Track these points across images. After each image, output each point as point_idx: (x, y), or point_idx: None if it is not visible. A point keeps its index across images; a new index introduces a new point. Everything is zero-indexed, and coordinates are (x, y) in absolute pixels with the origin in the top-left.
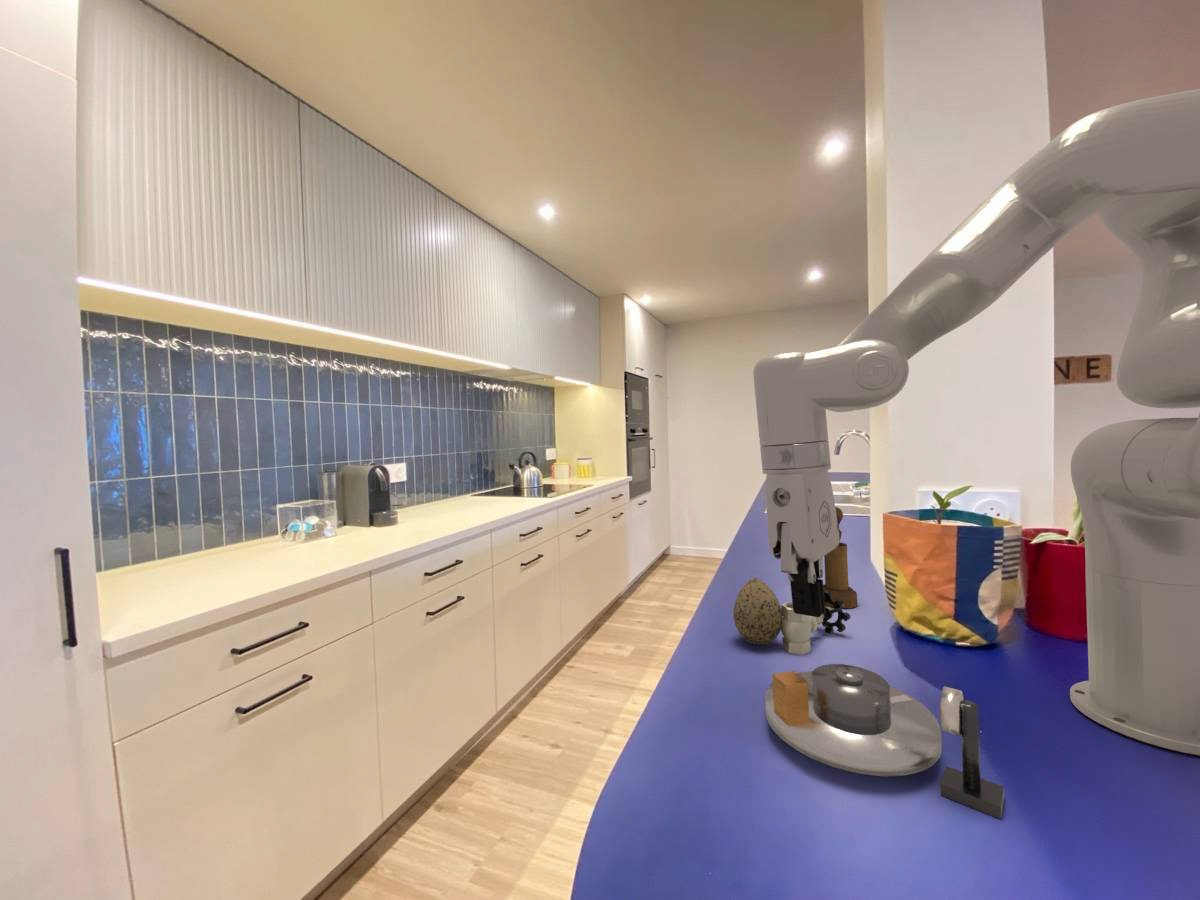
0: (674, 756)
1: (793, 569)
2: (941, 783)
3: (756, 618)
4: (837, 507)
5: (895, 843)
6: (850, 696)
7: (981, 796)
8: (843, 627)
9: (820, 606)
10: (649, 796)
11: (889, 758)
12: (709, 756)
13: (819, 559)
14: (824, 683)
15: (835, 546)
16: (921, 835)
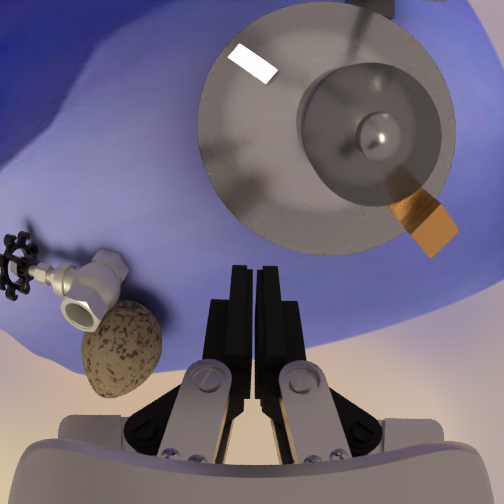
0: (446, 278)
1: (428, 432)
2: (391, 16)
3: (149, 344)
4: None
5: (475, 74)
6: (439, 129)
7: None
8: (22, 234)
9: (276, 285)
10: (489, 267)
11: (438, 71)
12: (438, 254)
13: (207, 439)
14: (414, 177)
15: (108, 465)
16: (456, 50)
